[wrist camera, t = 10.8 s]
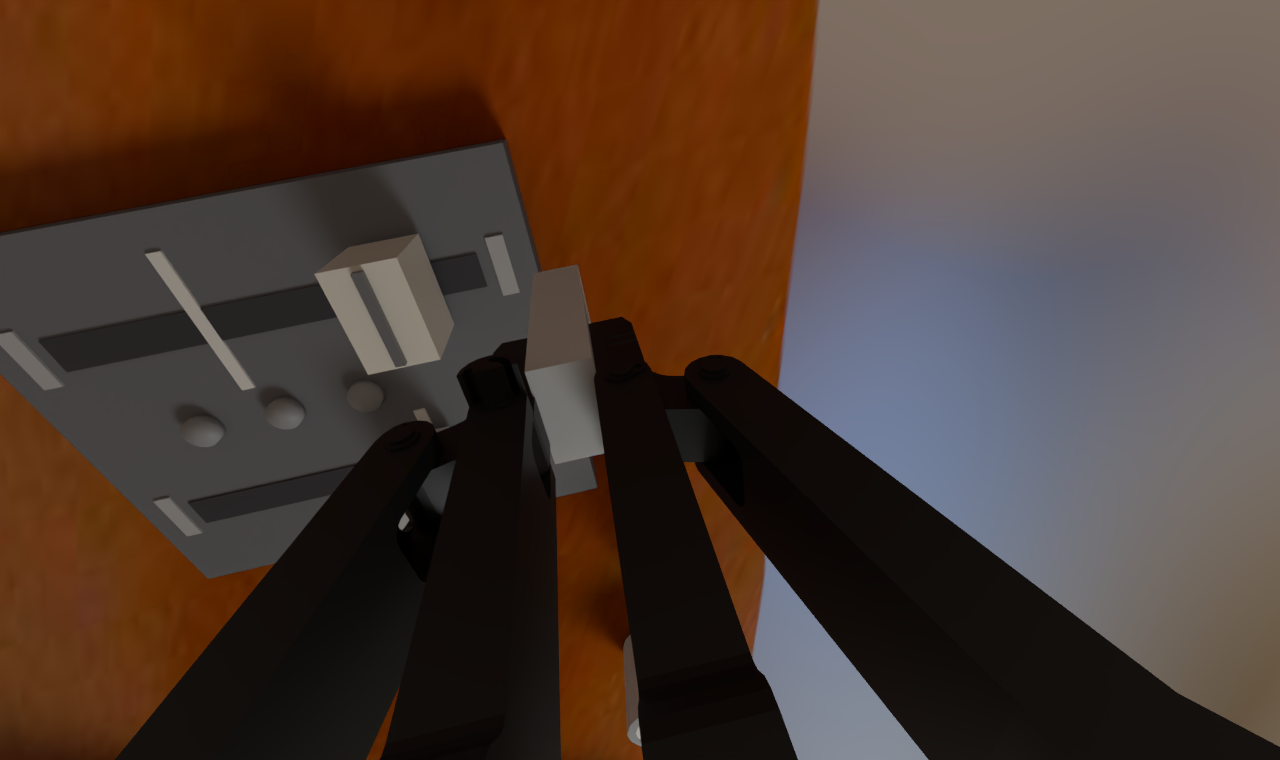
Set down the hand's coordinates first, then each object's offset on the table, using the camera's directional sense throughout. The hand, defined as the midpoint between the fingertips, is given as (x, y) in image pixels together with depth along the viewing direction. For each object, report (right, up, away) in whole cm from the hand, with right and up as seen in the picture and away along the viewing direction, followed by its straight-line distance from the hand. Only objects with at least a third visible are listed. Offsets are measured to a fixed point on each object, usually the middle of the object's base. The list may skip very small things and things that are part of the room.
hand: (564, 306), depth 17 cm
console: (-14, -3, +10) cm, 17 cm away
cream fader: (-8, +2, +5) cm, 10 cm away
